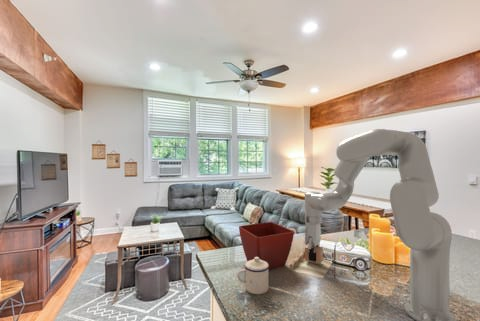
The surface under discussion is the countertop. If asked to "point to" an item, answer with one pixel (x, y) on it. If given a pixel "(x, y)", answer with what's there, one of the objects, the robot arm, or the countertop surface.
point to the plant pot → (267, 243)
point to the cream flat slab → (310, 266)
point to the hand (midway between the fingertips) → (313, 258)
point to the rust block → (318, 254)
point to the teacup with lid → (256, 276)
